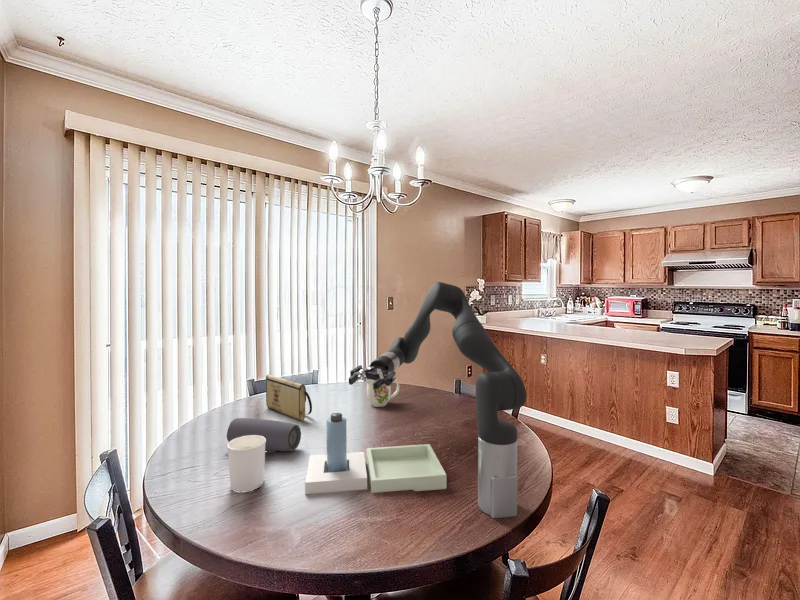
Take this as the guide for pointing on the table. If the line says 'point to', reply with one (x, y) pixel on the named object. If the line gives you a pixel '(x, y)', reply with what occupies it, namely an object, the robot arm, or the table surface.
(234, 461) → the candle holder
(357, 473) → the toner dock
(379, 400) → the pitcher
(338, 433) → the bottle
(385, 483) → the tray
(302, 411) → the clutch purse
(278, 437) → the bluetooth speaker
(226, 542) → the table surface
